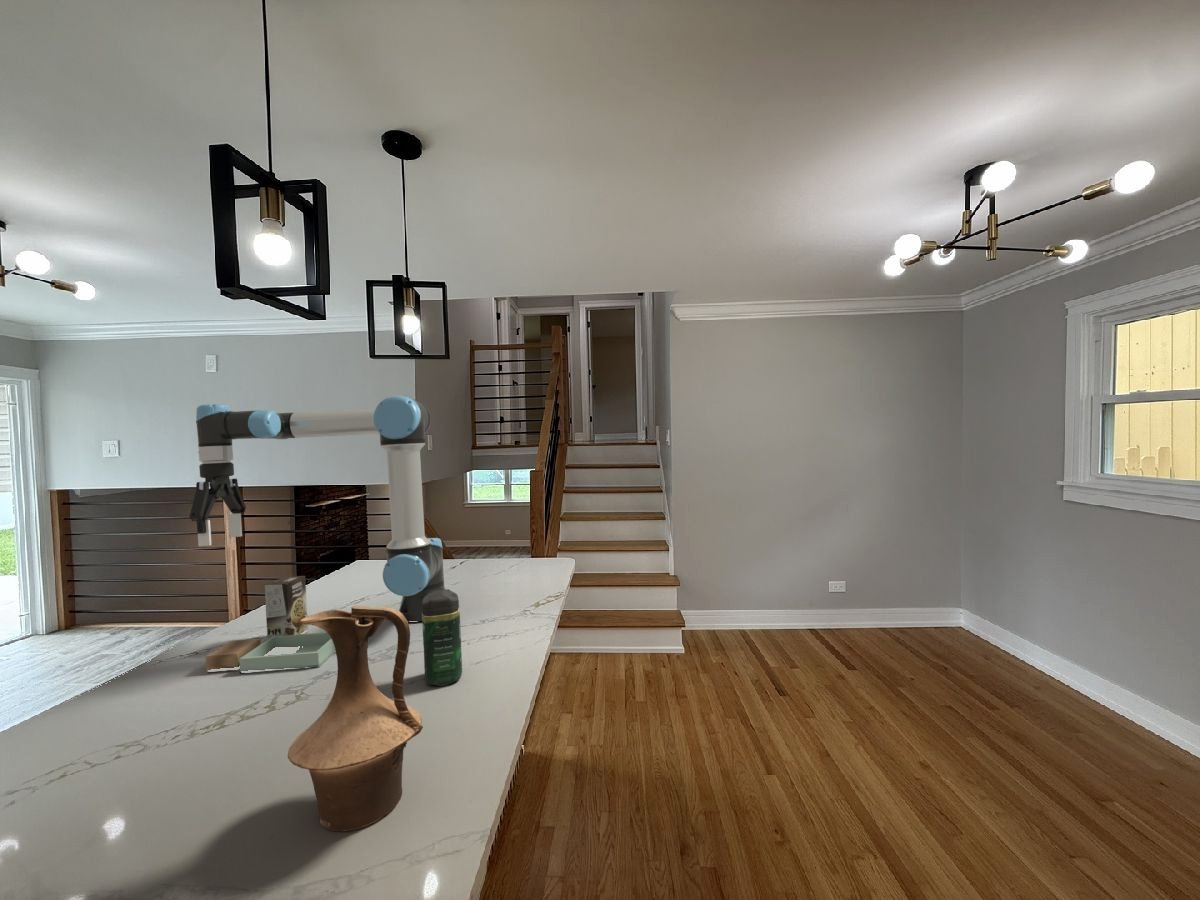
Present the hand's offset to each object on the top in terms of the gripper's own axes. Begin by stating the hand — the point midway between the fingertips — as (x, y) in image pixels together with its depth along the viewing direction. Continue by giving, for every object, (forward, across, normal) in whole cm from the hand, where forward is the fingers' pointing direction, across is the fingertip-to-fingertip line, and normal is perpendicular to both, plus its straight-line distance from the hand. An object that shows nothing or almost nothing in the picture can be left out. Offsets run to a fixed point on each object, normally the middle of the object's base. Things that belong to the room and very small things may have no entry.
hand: (221, 541), depth 145 cm
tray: (+28, +15, +24) cm, 40 cm away
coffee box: (+28, -1, +15) cm, 32 cm away
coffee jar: (+28, +34, +64) cm, 78 cm away
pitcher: (+28, +75, +61) cm, 101 cm away
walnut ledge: (+28, +15, +10) cm, 33 cm away
